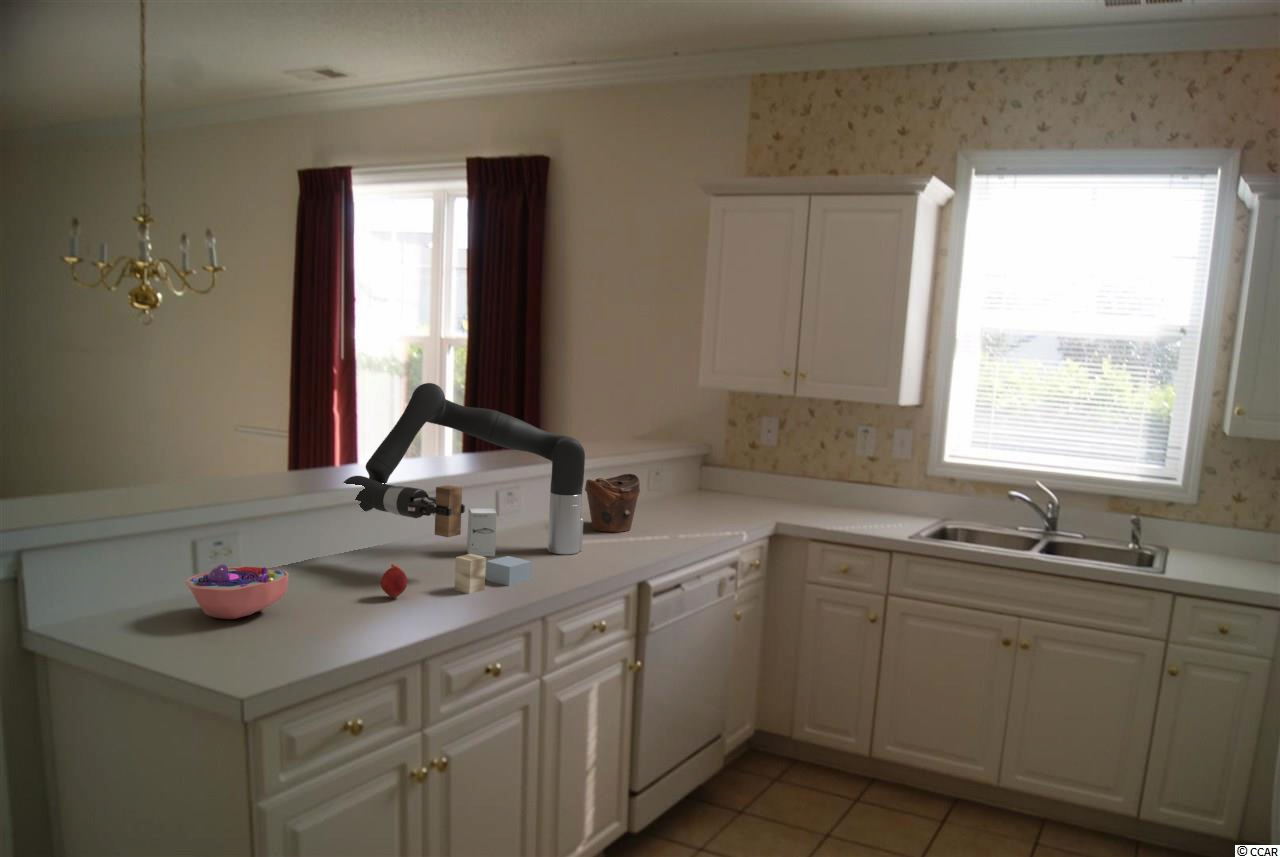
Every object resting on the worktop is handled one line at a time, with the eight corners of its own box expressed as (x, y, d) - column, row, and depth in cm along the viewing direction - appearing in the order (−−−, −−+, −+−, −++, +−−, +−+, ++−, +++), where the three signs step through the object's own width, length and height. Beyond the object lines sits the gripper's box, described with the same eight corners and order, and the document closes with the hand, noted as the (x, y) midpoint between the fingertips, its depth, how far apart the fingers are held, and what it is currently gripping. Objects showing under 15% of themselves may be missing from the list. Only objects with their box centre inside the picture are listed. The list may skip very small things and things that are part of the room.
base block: (507, 574, 227) (508, 555, 227) (530, 580, 223) (531, 561, 222) (485, 580, 221) (486, 561, 220) (509, 586, 216) (509, 567, 216)
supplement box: (468, 557, 242) (470, 512, 241) (466, 551, 249) (468, 507, 248) (495, 557, 244) (497, 512, 243) (492, 550, 251) (494, 507, 250)
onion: (397, 593, 205) (398, 559, 204) (412, 598, 201) (413, 564, 201) (375, 597, 200) (376, 563, 200) (390, 603, 197) (391, 568, 196)
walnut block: (446, 531, 222) (448, 485, 221) (460, 534, 220) (462, 487, 219) (434, 534, 218) (435, 487, 217) (448, 537, 216) (449, 489, 215)
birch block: (469, 585, 214) (470, 553, 214) (484, 589, 212) (485, 557, 211) (454, 589, 210) (455, 557, 210) (469, 594, 208) (470, 560, 207)
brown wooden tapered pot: (574, 531, 284) (576, 476, 282) (595, 520, 303) (597, 469, 301) (626, 537, 279) (629, 481, 277) (644, 526, 298) (647, 474, 296)
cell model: (302, 617, 184) (303, 564, 183) (200, 635, 170) (201, 578, 169) (271, 598, 196) (272, 548, 195) (174, 613, 182) (174, 559, 181)
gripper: (385, 490, 219) (437, 499, 211) (426, 483, 231) (476, 492, 223) (385, 519, 220) (436, 529, 211) (425, 511, 232) (475, 521, 224)
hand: (456, 510), depth 217 cm, fingers closed on walnut block, 4 cm apart
